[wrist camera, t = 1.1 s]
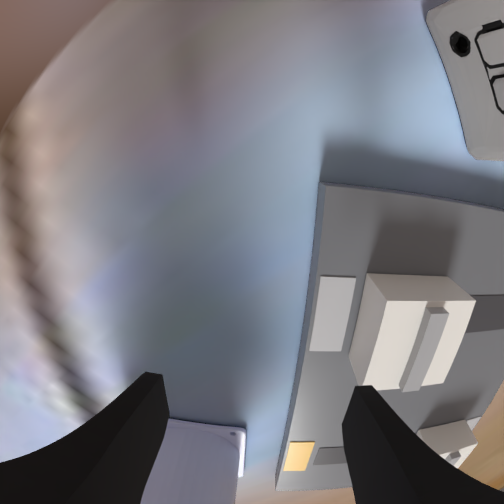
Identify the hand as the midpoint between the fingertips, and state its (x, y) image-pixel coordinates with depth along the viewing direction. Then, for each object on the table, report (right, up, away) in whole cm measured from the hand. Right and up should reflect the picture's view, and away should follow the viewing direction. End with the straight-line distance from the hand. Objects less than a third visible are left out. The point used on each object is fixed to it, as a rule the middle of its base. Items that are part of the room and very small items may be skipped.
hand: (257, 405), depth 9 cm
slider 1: (+8, +2, +6) cm, 10 cm away
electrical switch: (+14, +16, +3) cm, 21 cm away
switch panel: (+12, -4, +10) cm, 16 cm away
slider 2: (+15, -11, +9) cm, 21 cm away
